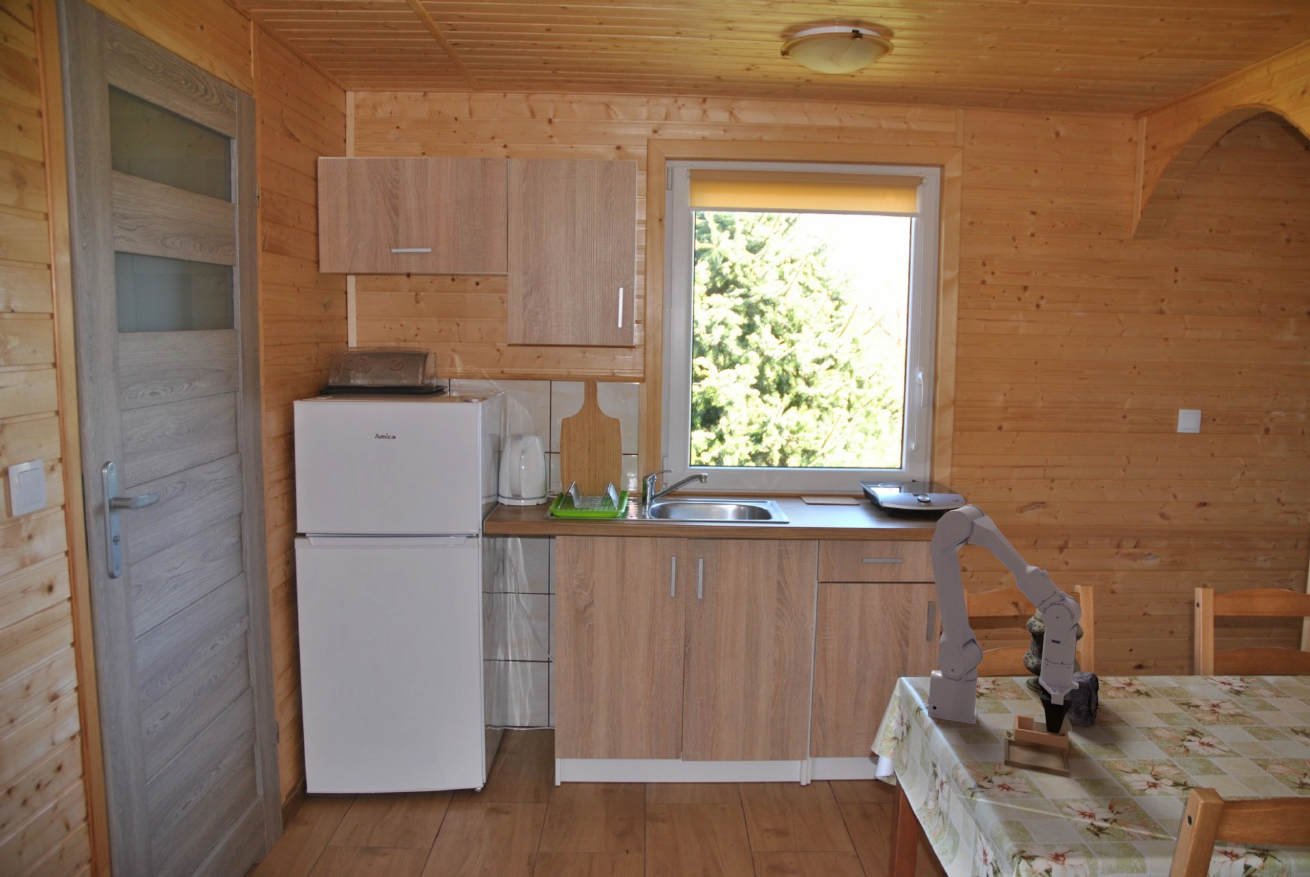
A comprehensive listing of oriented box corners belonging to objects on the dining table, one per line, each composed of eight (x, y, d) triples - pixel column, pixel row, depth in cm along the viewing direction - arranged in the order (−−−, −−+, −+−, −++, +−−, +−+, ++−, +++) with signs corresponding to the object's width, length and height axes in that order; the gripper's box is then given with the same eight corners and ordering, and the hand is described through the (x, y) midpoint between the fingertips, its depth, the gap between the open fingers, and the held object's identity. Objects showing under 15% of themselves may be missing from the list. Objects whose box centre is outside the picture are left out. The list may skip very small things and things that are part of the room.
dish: (1013, 744, 179) (1015, 729, 179) (1013, 729, 186) (1014, 714, 186) (1067, 754, 176) (1068, 738, 175) (1064, 738, 183) (1066, 722, 182)
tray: (1004, 766, 170) (1004, 759, 170) (1004, 743, 179) (1004, 737, 179) (1068, 778, 166) (1069, 771, 166) (1065, 754, 176) (1066, 748, 175)
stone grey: (1034, 721, 179) (1050, 724, 178) (1033, 715, 182) (1050, 718, 181) (1032, 740, 180) (1049, 743, 179) (1032, 734, 183) (1048, 737, 182)
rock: (1088, 733, 185) (1092, 684, 184) (1059, 725, 189) (1063, 677, 188) (1100, 717, 193) (1104, 670, 192) (1072, 710, 197) (1076, 663, 196)
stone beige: (1046, 717, 178) (1061, 711, 177) (1046, 711, 181) (1061, 705, 180) (1057, 735, 178) (1072, 730, 177) (1056, 729, 181) (1071, 724, 180)
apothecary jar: (1066, 703, 200) (1073, 623, 198) (1012, 687, 208) (1018, 610, 206) (1085, 688, 209) (1093, 612, 207) (1032, 673, 217) (1039, 599, 215)
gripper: (1083, 675, 170) (1077, 745, 172) (1077, 650, 183) (1071, 715, 185) (1042, 669, 172) (1036, 738, 174) (1039, 645, 186) (1034, 709, 188)
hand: (1052, 725), depth 180 cm, fingers open, 5 cm apart
